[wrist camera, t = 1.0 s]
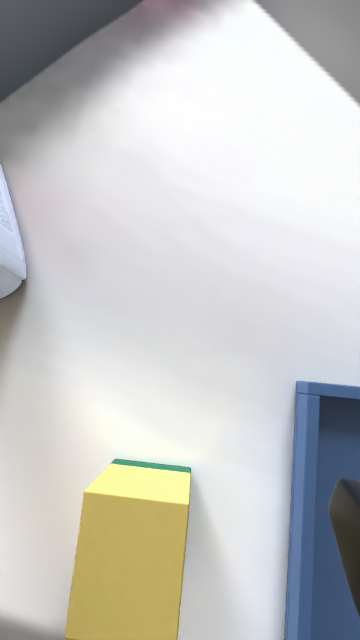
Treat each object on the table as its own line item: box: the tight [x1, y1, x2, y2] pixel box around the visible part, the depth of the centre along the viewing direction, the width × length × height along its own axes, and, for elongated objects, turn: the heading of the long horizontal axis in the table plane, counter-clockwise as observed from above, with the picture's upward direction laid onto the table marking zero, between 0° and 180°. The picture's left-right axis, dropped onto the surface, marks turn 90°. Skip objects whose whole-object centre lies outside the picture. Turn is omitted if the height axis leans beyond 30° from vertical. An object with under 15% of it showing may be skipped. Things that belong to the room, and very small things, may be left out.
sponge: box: [65, 459, 191, 640], centre depth 15 cm, size 5×4×5 cm
